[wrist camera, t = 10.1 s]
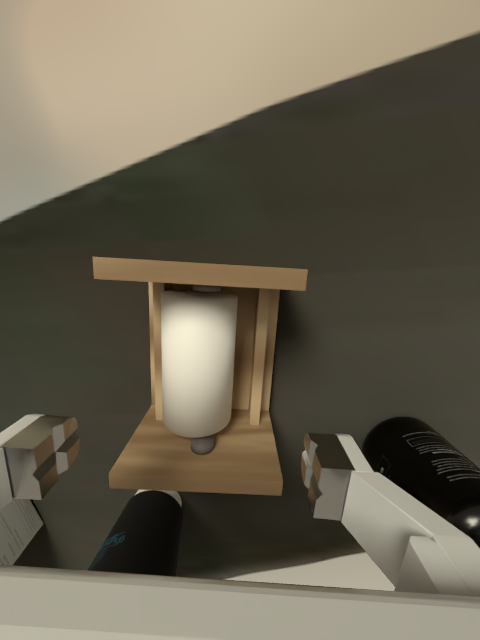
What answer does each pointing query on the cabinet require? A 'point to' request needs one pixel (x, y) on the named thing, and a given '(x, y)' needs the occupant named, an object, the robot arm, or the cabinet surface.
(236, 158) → the cabinet surface
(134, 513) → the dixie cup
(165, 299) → the paper roll
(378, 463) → the supplement bottle
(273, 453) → the holder
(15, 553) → the supplement box
